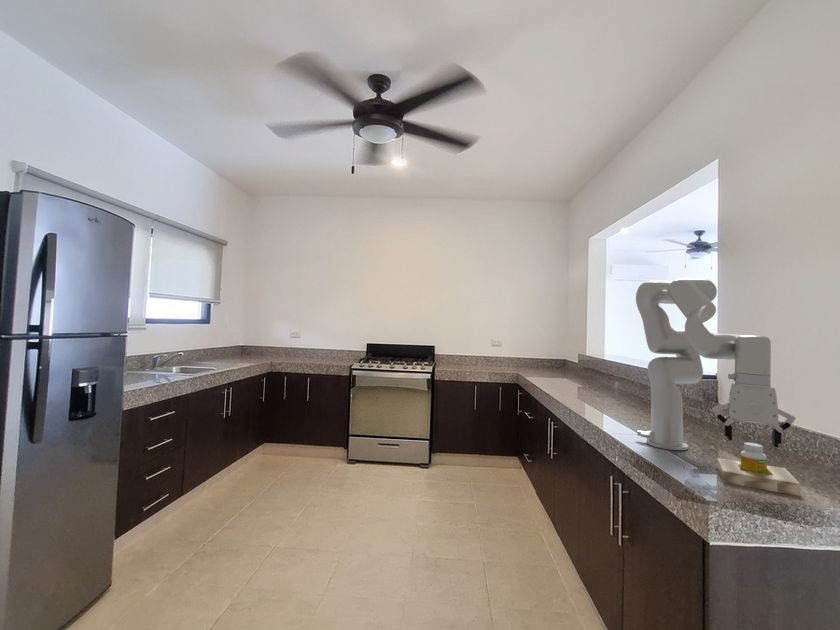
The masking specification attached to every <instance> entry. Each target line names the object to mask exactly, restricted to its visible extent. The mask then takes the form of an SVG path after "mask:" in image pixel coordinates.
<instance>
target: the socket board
mask: <svg viewBox="0 0 840 630" xmlns="http://www.w3.org/2000/svg"><path fill="white" fill-rule="evenodd" d="M716 465H717V466H716V467H717V471H718V473H719V475H720V478H721V480H722V482H723V483H724V484H729V485H735V486H741V487H745V486H746V488H751V487H752V488H753V489H758V490H762V489H763V491H770V492H775V493H782V494H787V495H792V496H797V497H801V483H800V482H799V481H798V480H797V479H796V478H795V477H794V475H792V473H790V471H788V470H787V468H785V467H779V466H774V465H773V466H772V465H767V475H766V474H760V473H754V472H748V471H741V460H740V461H739V460H735V459H733V460H732V459H727V458H719V457H717V458H716Z"/></svg>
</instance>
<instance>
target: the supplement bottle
mask: <svg viewBox="0 0 840 630" xmlns="http://www.w3.org/2000/svg"><path fill="white" fill-rule="evenodd" d="M743 449H744V450H742V451H741V452H740V461H741V471H748V472H754V473H760V474H766V475H767V466H768V459H767V455H766V454H765V453H763V452H764V446H763V445H761V443H760V444H759V443H755V442H743Z"/></svg>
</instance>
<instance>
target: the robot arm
mask: <svg viewBox="0 0 840 630" xmlns="http://www.w3.org/2000/svg"><path fill="white" fill-rule="evenodd" d="M717 292H718V291H717V286H716V285H715V283H714V282H713V281H711V280H710V279H707V278H696V277H695V278H693V277H681V278H677V279H676V278H675V279H674V280H648V281H644V282H643V283H641V284H640V285H639V286H638V288H637V289H636V292H635V293H636V294H635V304H636V307H637V310H638V312H639V314H640V317H641V320H642V323H643V329H644V330H643V331H644V336H645V339H646V343H647V344H646V345H647V348H648V349H649V351H650V352H651V353H653V354H657V355H658V354H659V355H675V356H658V357H655V358H653V359H651V360H650V361H649V362H648V364H647V374H648V378H649V383H650V402H651V403H650V407H651V408H650V413H651V414H650V415H651V416H650V420H651V422H650V423H651V425H650V428H651V429H650V430H646V431H643V430H640V429H639V430H637V432H636V433H637V436H639V437H641V438H647V439H646V444H647V445H649V446H651V447H655V448H658V449H663V450H669V451H686V450H688V449H689V445H688V444H687V443H685V442H684V431H683V430H684V427H683V423H684V420H683V417H684V416H683V415H684V413H683V397H682V396H683V395H682V393H681V391H680V389H679V388H678V386H677V385H679V384H680V385H692V384H693V385H694V384H697V383H699V382H700V381H701V380H702V378H703V375H704V368H703V363H702V359H701V357H703V358H705V359H707V360H708V359H710V360H734V373H732V374H730V373H728V375H727V378H728V380H732V381H734V382H732V383H731V386H730V389H729V394H728V395H729V396H728V402H727V403H723V404H720V405H716V406H713V407H712V410H713V412H714V414H715V416H716V417H717V419H719V420H720V422H722V423H723V424H724V436H725V437H727V440H728V441H729V442H730V441H733V426H732V424H733V423H734V422H735V421H736V422H737V421H738V422H744V423H752V424H762V425H771V427H773V429H772V432H771V439H772V440H771V444H772V446H774V447H775V448H779V445H781V444H782V433H784V432H785V430H788V428H790V427H791V425H792V424H793V423H794V422H795V420H796V417H795V416H794V415H792V414H789V413H787V412H786V411H784V410H782V409H780V408H779V406H778V396H777V392H776V391H777V390H776V388H775V387H774V386H771V381H772V379H771V365H772V364H771V363H772V362H771V361H772V360H771V358H772V356H771V353H772V350H771V349H772V348H771V347H772V341H771V339H770V338H769V337H768V336H765V335H750V334H749V335H748V334H747V335H746V334H738V333H737V334H736V333H718V332H717V333H713V332H710V331H709V330H708V328H707V326H705V324H704V323H706V322H708V321H709V320H710V319H712V318H713V317H714V315H716V312H717V307H716V305H715V304H714V303H713V302H712V301H714V300H715V299H716V296H717ZM660 304H664V305H665V304H668V305H669V304H670V305H676V307H677V308H678V309H679V310H680V312H681V313H682V315H683V316H684V317H685V318H686V320H685V323H684V329H683V328H681V329H680V328H672V326H671V323H670V318H669V315H668V314H667V312H666V311H665V309H664V308H663V307H661V306H660ZM724 410H727V411H728V416H727V417H725V416H724V415H722V413H721V411H724ZM779 416H782V417H783V418H785V420H784V421H783V422H782V423H780V424H779Z"/></svg>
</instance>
